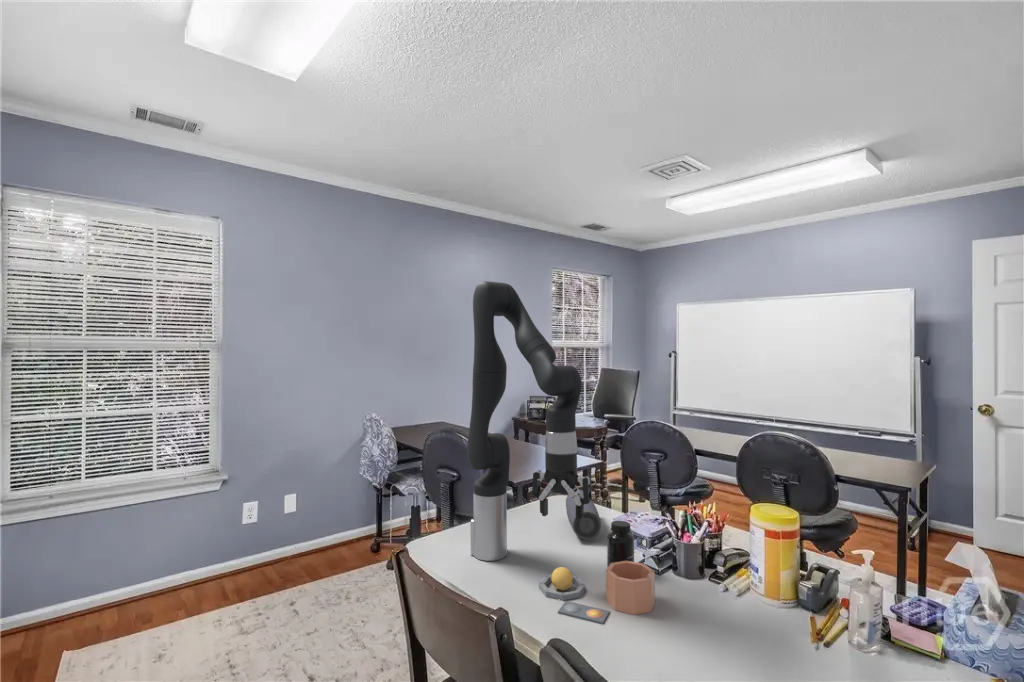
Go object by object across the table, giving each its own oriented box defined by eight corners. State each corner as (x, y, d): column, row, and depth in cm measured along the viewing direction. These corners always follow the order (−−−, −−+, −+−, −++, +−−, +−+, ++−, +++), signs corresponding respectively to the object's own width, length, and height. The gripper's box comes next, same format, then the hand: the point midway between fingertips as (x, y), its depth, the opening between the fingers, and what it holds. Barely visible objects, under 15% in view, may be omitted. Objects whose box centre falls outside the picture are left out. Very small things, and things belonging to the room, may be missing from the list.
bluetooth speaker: (603, 544, 147) (603, 509, 147) (571, 544, 147) (571, 509, 147) (592, 517, 170) (591, 487, 170) (564, 517, 170) (564, 487, 170)
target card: (557, 613, 109) (557, 610, 109) (565, 602, 114) (565, 600, 114) (602, 624, 105) (602, 621, 105) (609, 612, 109) (609, 610, 109)
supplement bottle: (634, 577, 126) (634, 529, 126) (607, 575, 127) (606, 527, 127) (633, 565, 133) (633, 519, 133) (607, 563, 134) (607, 518, 134)
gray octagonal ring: (534, 593, 118) (534, 588, 118) (550, 576, 127) (550, 571, 127) (575, 603, 113) (575, 598, 113) (588, 584, 122) (588, 579, 122)
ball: (548, 591, 119) (548, 570, 119) (556, 582, 123) (556, 561, 123) (568, 596, 117) (568, 574, 117) (575, 586, 121) (575, 565, 121)
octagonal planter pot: (602, 607, 112) (602, 575, 112) (614, 587, 120) (614, 558, 121) (648, 618, 107) (648, 585, 107) (657, 596, 116) (657, 566, 116)
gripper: (527, 450, 120) (527, 518, 120) (584, 455, 114) (585, 527, 114) (539, 444, 127) (540, 509, 127) (594, 449, 121) (595, 517, 120)
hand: (561, 517), depth 120 cm, fingers open, 8 cm apart
